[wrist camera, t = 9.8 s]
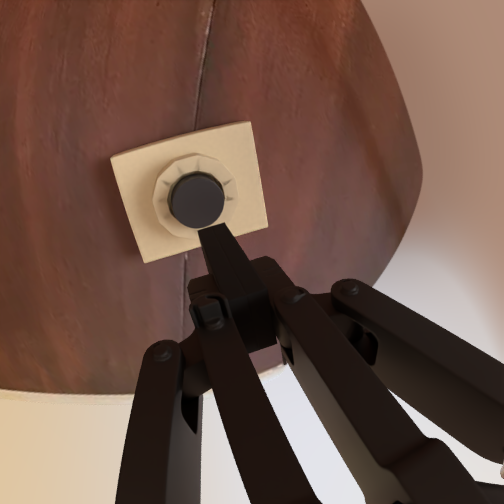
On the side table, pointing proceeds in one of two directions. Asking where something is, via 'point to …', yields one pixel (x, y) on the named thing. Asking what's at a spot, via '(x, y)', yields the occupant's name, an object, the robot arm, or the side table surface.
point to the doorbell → (179, 166)
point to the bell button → (197, 201)
